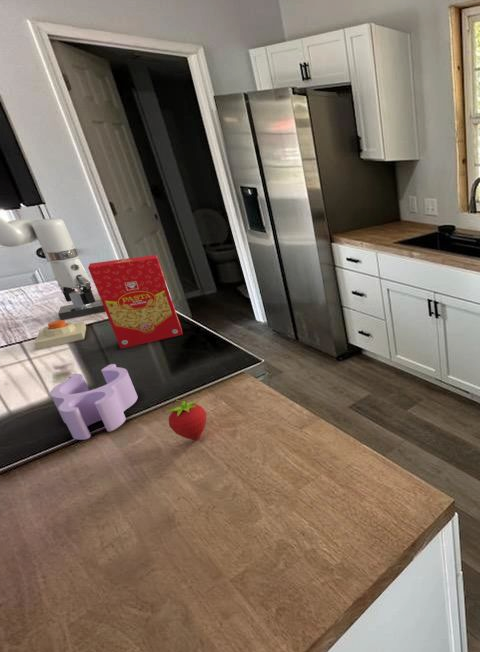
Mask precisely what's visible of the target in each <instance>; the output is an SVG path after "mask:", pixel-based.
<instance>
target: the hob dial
mask: <svg viewBox="0 0 480 652" xmlns="http://www.w3.org/2000/svg"><path fill="white" fill-rule="evenodd" d="M80 294H81V293H80V292H79V291H78V290H75V291H73V292H72V293H69V296H70V298H71V301H70V302H71V304H73V305H74V307H75V308H81V307H86V306H89V305H91V303H90V304H87V305H84V304H83V301H82V299H81V297H80Z"/></svg>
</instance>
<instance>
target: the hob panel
mask: <svg viewBox="0 0 480 652" xmlns="http://www.w3.org/2000/svg"><path fill="white" fill-rule="evenodd" d="M100 313H106V311H105V308H104V306H103V304H102V301H101V299H95V302H94V303H91V305H89V306H86V307H81V308H75V307H74V305H73V303H71V304H67V305H62V306H60V308H59V310H58V313H57V315H58V317H59V320H64V321H65V320H70V319H75V318H80V317H85V316H90V315H96V314H100Z"/></svg>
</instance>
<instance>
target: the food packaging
mask: <svg viewBox="0 0 480 652" xmlns="http://www.w3.org/2000/svg"><path fill="white" fill-rule="evenodd" d="M87 269H88V271H89V273H90V277H91V279H92V282H93V283H94V286H95V289H96V291H97V293H98V296H99V298H100V299H101V301H102V304H103V306H104V308H105V311H106V312H105V314H106V316H107V317H108V318H107V319H108V321H109V323H110V326H111V328H112V330H113V333H114V336H115V338H116V341H117V343H118V346H119V348H120V349H126V348H131V347H135V346H139V345H144V344H148V343H152V342H156V341H161V340H166V339H170V338H173V337H178V336H181V335H182V336H183V329H182V325H181V323H180V319H179V317H178V314H177V310H176V307H175V305H174V301H173V299H172V296H171V292H170V290H169V287H168V284H167V281H166V278H165V275H164V272H163V269H162V266H161V263H160V260H159V257H158V254H150V255H143V256H137V257H129V258H121V259H116V260H115V259H113V260H107V261H99V262H92V263H91V262H90V263H89V265H88V267H87ZM100 299H99V300H100Z"/></svg>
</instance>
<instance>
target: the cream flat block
mask: <svg viewBox="0 0 480 652" xmlns="http://www.w3.org/2000/svg"><path fill="white" fill-rule="evenodd" d="M65 323H66V326H64V327H61V328H57V329H50V328H49V326H48V325H47V326H45V327H44V328H42V329H40V330H39V331H38V333H37V335H36V338H35V340H34V346H35V349H36V350H42V349H46V348H51V347H55V346H60V345H64V344H68V343H69V344H70V343H75V342H78V341H83V340H85V336H86V331H87V326H86V324H85V321H80V322H72V321H65Z"/></svg>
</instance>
